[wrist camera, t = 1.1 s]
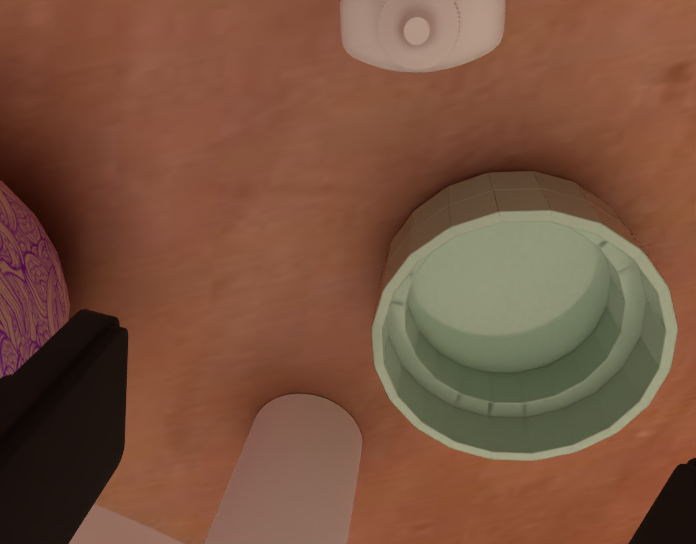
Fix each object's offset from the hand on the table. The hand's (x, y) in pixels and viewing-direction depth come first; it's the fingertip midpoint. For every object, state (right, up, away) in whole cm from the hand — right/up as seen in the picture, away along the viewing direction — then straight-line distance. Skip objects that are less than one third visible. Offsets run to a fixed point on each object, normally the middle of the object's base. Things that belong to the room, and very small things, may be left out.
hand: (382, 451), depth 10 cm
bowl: (+8, +2, +22) cm, 23 cm away
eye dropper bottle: (+3, +15, +17) cm, 22 cm away
